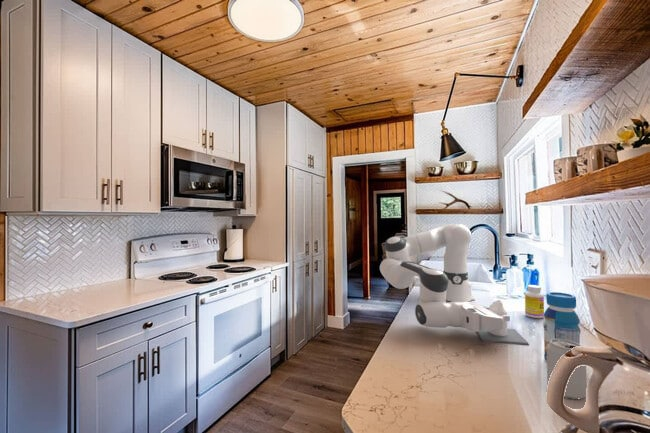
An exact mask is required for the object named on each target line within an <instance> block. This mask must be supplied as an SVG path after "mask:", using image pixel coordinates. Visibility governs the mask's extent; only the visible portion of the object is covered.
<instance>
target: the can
mask: <svg viewBox="0 0 650 433" xmlns="http://www.w3.org/2000/svg"><path fill="white" fill-rule="evenodd" d="M576 346H582V344H578V343H576V342H573V341H570V340H565V339H551V340H550V343H549V344H548V345H547V362H546V385H547V384H548V381H549V378H550V375H551V373H552V371H553V369H554V367H555V365H556V363H557V361H558V360H559V359H560V357H561V356H562V355H563V354H565V353H566V352H567V351H569V350H571V349H572V348H573V347H576ZM586 388H587V365H586V366H580V367H578V368H576V369H575V371H574V372H573V374H572V375H571V377H570V379H569V382H568V384H567V388H566V392H565V397H564V399H565V398H566V399H568V398H572V399H571V400H575V399H578V398H581V399H583V398H586V396H587V395H586ZM585 395H586V396H585ZM578 400H579V399H578Z"/></svg>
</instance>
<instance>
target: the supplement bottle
mask: <svg viewBox="0 0 650 433" xmlns="http://www.w3.org/2000/svg"><path fill="white" fill-rule="evenodd" d="M541 290H542V287H541V286H540V285H535V284H528V285H527V290H526V291H525V293H524V301H525V302H524V307H525V308H524V312H525V313H524V314H525V316H527V317H529V318H532V319H542V318H544V313H545V295H544V293H543V292H541Z"/></svg>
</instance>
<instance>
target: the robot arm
mask: <svg viewBox="0 0 650 433" xmlns="http://www.w3.org/2000/svg"><path fill="white" fill-rule="evenodd" d="M471 240H472V233H471V230H470V228H468V227H467V226H465V225H464V224H456V223H449V224H445V225H441V226H439V227H435V228H432V229H430V230H426V231H422V232H419V233H414V234H410V235H408V236H405V237H401V236H396V235H395V236H391V237H389V238H387V239H386V240H385V242H384V250H385V255H386V258H385V259H383V260H382V261H381V263H380V265H379V271H380V273H381V275H382V277H384V279H385V280H386V281H387V283H389V285H391V286H392V287H394V288H396V289H399V290H402V289H407V288H409V287H410V286H411V285H413V283H414V282H415V281H414V280H415V278H416V277H417V278H418V279H419V295H418V303H417V304H416V306H415V309H414V313H415V314H414V315H415V318H416V321H417V322H418V323H419V325H420V326H424V327H427V328H428V327H429V328H448V327H453V328H462V329H466V330H468V331H472V332H474V333H477V332H479V329H480V330H500V329H503V328H504V322H505V321H507V322H510V321H511V320H510V319H511V317H510V316H509V315H508V314H507V315H502V316H499V315H497V314H495V313H493V312H492V311H490V310H489V306H483V305H481V304H479V303H477V302H475V301H476V297H475V296H473V294H472V293H473V291H472V283H471V282H470V281H469V272H468V260H467V259H468V253H469V248H470V241H471ZM444 248H445V250H444V253H443V254H444V255H443V271H442V270H439V269H437V268H430V267H428V266H426V265H422V264H419V263H417V262H413V261H411V257H414V256H415V257H416V256H419V255H424V254H427V253H431V252H432V253H433V252H435V251H438V250H440V249H444ZM447 301H449V302H447Z"/></svg>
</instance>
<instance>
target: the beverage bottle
mask: <svg viewBox="0 0 650 433" xmlns="http://www.w3.org/2000/svg"><path fill="white" fill-rule="evenodd" d="M546 304H547V306H548V307H547V308H546V309H545V310H544V317H543V318H544V321H543V341H544V342H543V343H544V344H543V346H544V347H543V348H544V351H543V352H544V355H543V356H544V357H543V358H544V361H545V362H546V363H547V345H548V344H549V343H550V340H551V339H565V340H570V341H573V342H576V343H578V344H580V343H581V340H580V338H581V328H580V326H579V324H580V323H581V322H580V317H579V315H578V314H577V312H576V311H575V309H576V307H577V297H576V296H575V295H574V294H571V293H566V292H557V291H556V292H555V291H551V292H547V293H546ZM580 345H581V344H580Z"/></svg>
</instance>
